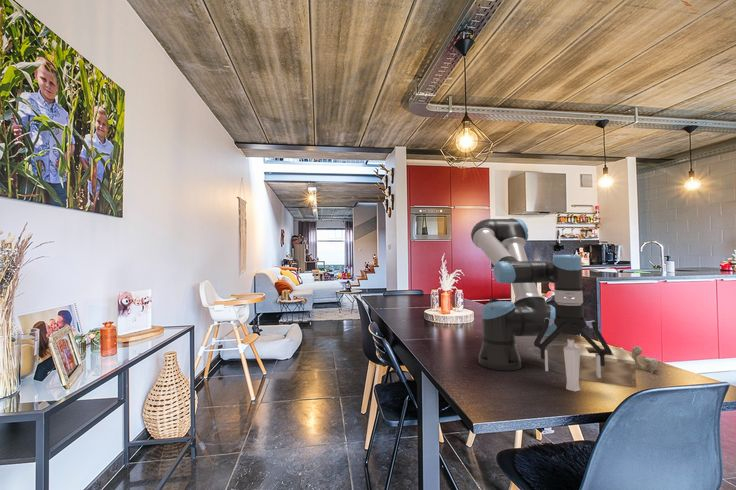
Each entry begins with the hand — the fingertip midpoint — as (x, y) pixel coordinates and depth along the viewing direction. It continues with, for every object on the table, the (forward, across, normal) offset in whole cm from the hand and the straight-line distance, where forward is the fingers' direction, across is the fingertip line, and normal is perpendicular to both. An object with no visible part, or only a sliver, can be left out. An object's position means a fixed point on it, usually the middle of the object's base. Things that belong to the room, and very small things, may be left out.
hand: (571, 373), depth 99 cm
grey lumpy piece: (+5, +26, +30) cm, 40 cm away
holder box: (+5, +10, +18) cm, 21 cm away
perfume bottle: (+5, 0, 0) cm, 5 cm away
